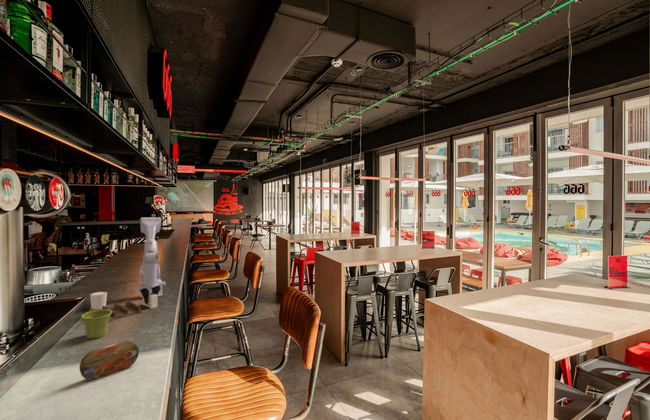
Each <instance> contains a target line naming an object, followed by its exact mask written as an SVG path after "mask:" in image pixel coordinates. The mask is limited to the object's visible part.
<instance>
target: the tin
mask: <svg viewBox="0 0 650 420" xmlns="http://www.w3.org/2000/svg"><path fill="white" fill-rule="evenodd" d="M139 354H140V351H139V347H138V345H137V344H135V343H134V342H132V341H129V340H122V341H119V342H116V343H113V344H109V345H106V346H103V347H99V348H95V349H93V350H91V351H89V352H88V353H86V354H85V355H84V356H83V357H82V359H81V360H80V362H79V366H78V367H79V372H80V374H81V376H82V378H83V379H85V380H88V381H95V380H96V381H97V380H98V379H101V378H105V377H107V376H110V375H113V374H115V373H119V372H121V371H124V370H126V369H128V368H130V367H132V366H133V365H134V364H135V362H136V361H137V360H138V357H139Z"/></svg>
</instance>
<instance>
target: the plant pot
mask: <svg viewBox="0 0 650 420" xmlns="http://www.w3.org/2000/svg"><path fill="white" fill-rule="evenodd" d="M111 313H112V311H111V310H102V309H96V310H95V311H91V312H89V311H88V312H86V313H83V314H82V315H81V318H82V321H83V322H84V326H85V328H84V329H85V334H86V338H87V339H90V340H93V339H99V338H102V337H104V336H106V334H107V331H108V327H109V326H108V325H109V322H110V321H109V317H110V314H111Z"/></svg>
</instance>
